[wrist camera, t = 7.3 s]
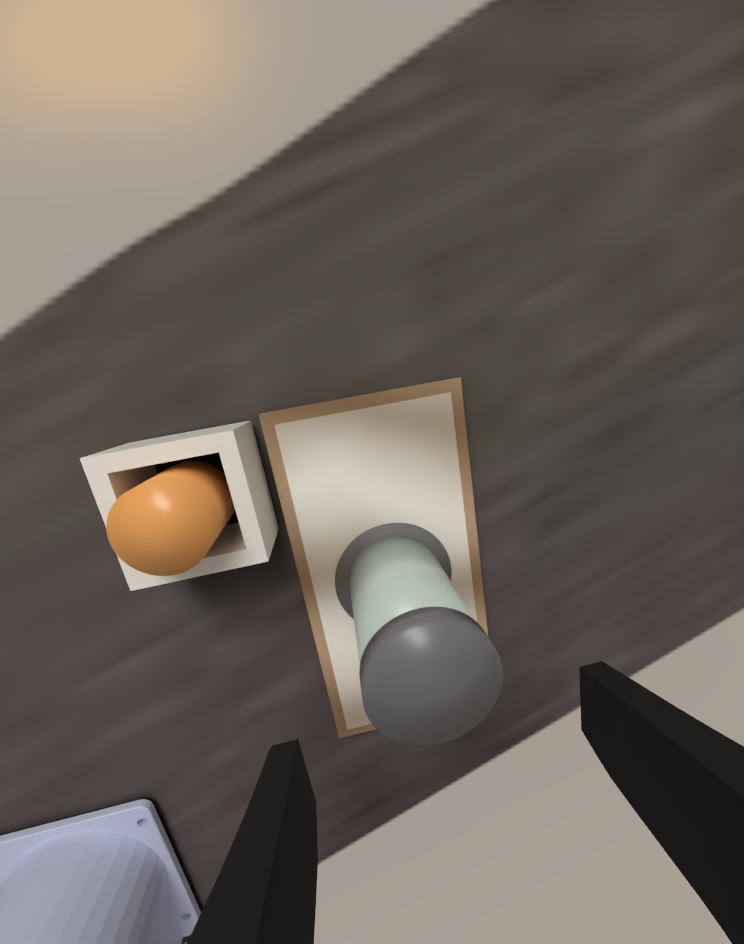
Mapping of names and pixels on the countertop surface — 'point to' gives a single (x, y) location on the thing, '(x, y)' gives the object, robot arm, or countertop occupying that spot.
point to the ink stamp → (419, 646)
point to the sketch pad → (372, 507)
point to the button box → (244, 477)
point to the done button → (170, 519)
